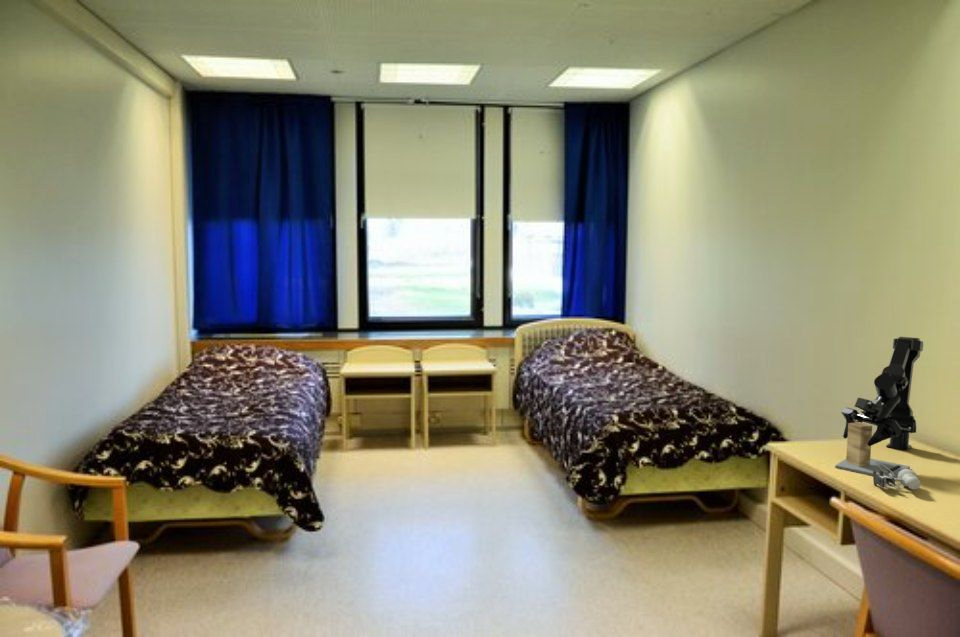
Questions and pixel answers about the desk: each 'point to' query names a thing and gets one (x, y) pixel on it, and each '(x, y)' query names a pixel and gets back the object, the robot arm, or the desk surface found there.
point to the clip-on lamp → (904, 477)
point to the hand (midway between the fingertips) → (856, 441)
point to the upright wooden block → (858, 444)
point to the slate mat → (872, 467)
